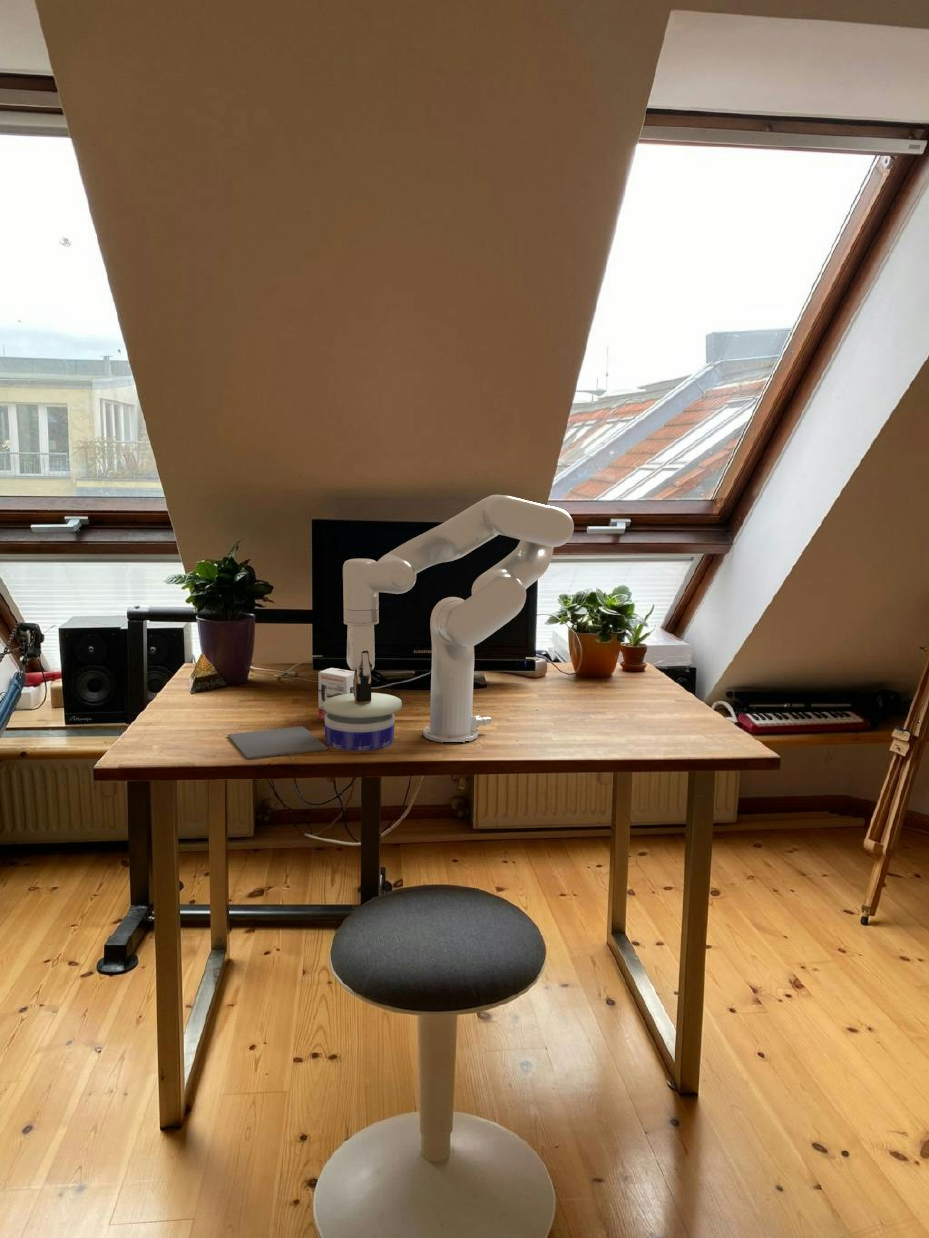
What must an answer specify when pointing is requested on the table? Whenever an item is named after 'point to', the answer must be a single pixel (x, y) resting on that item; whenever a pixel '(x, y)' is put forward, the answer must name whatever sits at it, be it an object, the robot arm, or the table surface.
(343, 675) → the ink box
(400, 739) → the table surface
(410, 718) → the table surface
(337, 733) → the dog bowl
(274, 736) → the mat
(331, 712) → the lid
